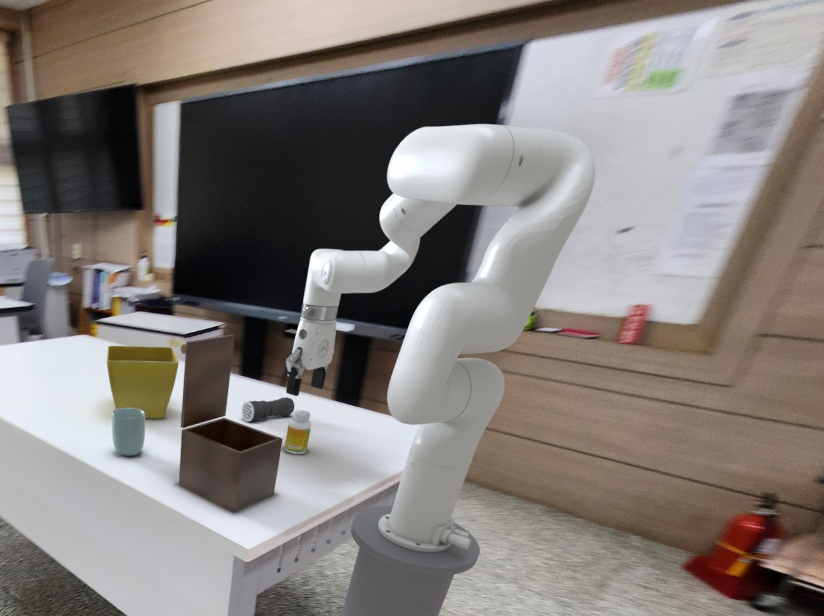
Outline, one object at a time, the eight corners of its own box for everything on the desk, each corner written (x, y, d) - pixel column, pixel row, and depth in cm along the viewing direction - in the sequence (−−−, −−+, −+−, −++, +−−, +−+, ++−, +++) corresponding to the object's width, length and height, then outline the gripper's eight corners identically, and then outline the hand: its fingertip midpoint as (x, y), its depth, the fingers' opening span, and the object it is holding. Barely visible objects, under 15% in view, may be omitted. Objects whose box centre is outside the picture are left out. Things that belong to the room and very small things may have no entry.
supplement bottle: (305, 455, 126) (312, 417, 121) (283, 452, 127) (289, 414, 122) (307, 448, 130) (314, 410, 125) (285, 445, 132) (291, 407, 127)
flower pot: (170, 402, 160) (172, 346, 151) (176, 423, 144) (179, 361, 135) (108, 401, 159) (107, 345, 150) (107, 422, 142) (106, 360, 134)
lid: (234, 335, 102) (214, 330, 106) (189, 342, 95) (168, 336, 98) (225, 416, 111) (207, 408, 114) (183, 428, 103) (164, 420, 107)
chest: (273, 494, 107) (282, 438, 101) (233, 512, 100) (240, 453, 94) (219, 469, 117) (224, 417, 111) (178, 484, 110) (181, 429, 104)
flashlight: (282, 411, 155) (285, 393, 152) (294, 417, 151) (297, 399, 148) (240, 417, 149) (242, 399, 146) (251, 423, 145) (254, 404, 142)
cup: (116, 460, 120) (115, 419, 115) (109, 448, 127) (108, 408, 122) (148, 457, 122) (149, 416, 117) (140, 445, 129) (140, 406, 124)
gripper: (310, 319, 105) (295, 401, 114) (355, 312, 115) (339, 388, 124) (280, 314, 110) (268, 393, 119) (326, 307, 120) (312, 381, 129)
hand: (304, 390), depth 121 cm, fingers open, 9 cm apart
